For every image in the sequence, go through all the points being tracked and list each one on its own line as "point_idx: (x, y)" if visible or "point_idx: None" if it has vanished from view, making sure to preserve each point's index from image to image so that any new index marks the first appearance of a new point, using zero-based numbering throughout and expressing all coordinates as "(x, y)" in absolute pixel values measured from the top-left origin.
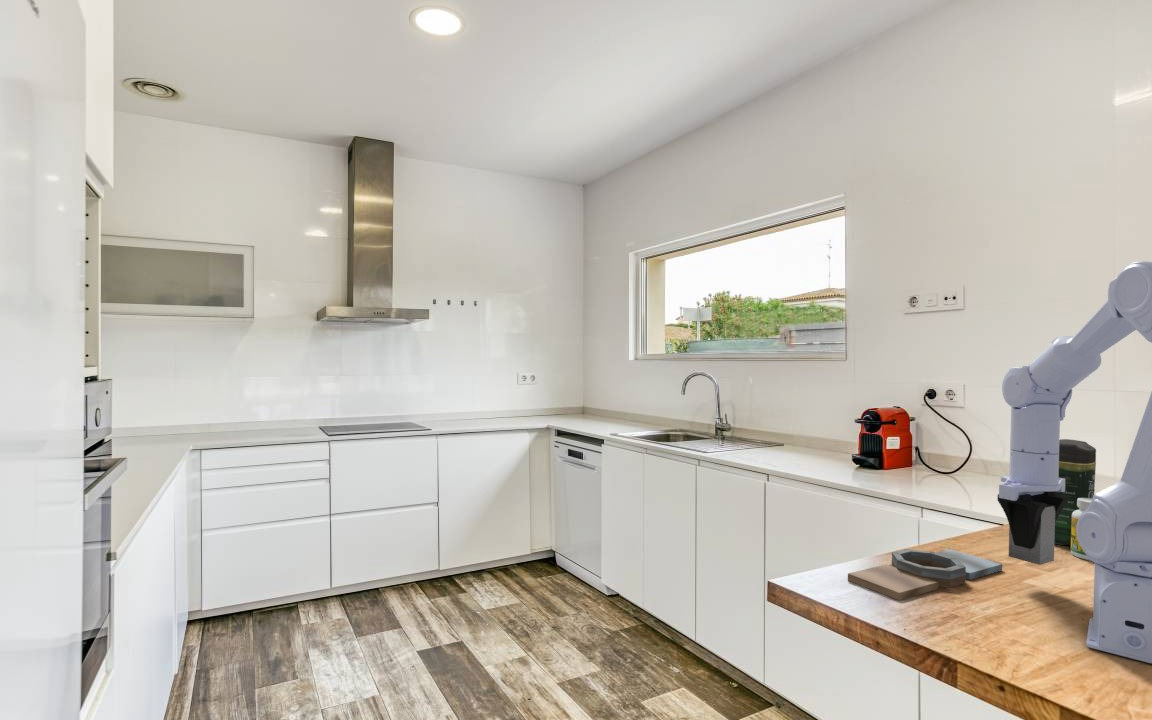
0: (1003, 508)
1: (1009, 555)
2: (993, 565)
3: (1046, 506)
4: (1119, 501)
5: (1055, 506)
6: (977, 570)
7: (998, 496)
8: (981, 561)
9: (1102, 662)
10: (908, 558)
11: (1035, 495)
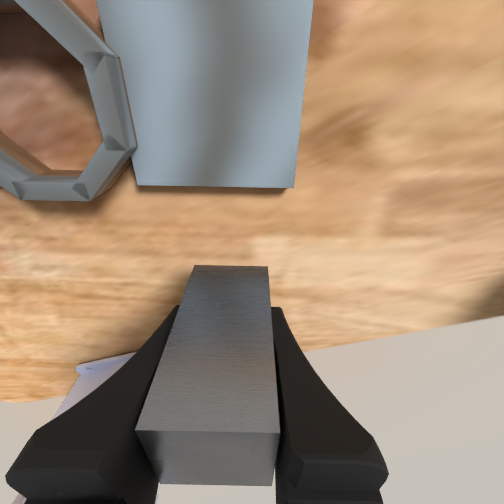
0: (81, 402)
1: (194, 268)
2: (258, 182)
3: (215, 482)
4: None
5: (276, 478)
6: (176, 183)
7: (13, 465)
8: (265, 147)
9: (63, 375)
10: (15, 3)
11: (285, 493)
